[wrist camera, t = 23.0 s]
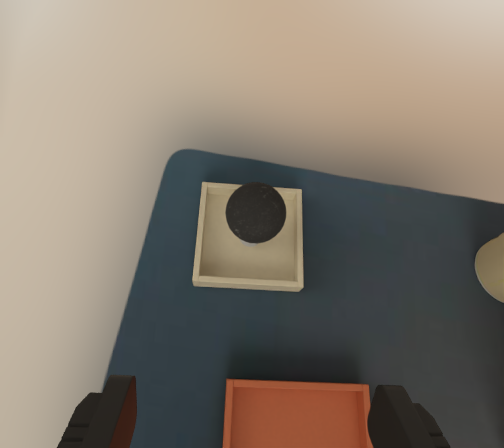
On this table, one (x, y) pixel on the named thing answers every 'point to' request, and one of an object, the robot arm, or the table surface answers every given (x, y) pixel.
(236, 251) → the cream tray
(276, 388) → the terracotta tray
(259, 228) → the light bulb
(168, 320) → the table surface
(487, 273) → the coffee cup
